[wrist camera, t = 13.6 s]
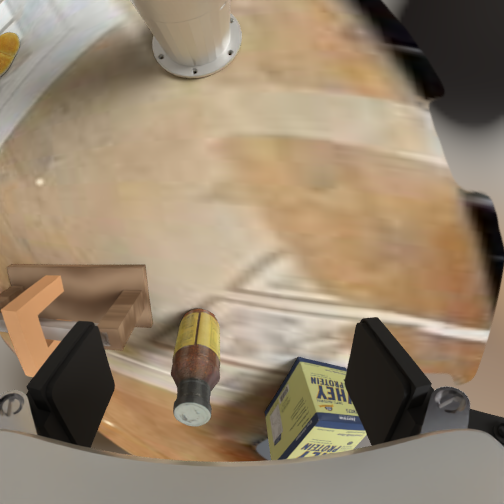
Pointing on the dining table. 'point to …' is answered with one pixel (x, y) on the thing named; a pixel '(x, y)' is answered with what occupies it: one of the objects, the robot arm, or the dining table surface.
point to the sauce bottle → (196, 366)
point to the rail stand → (87, 299)
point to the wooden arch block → (32, 323)
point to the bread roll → (8, 50)
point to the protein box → (312, 413)
